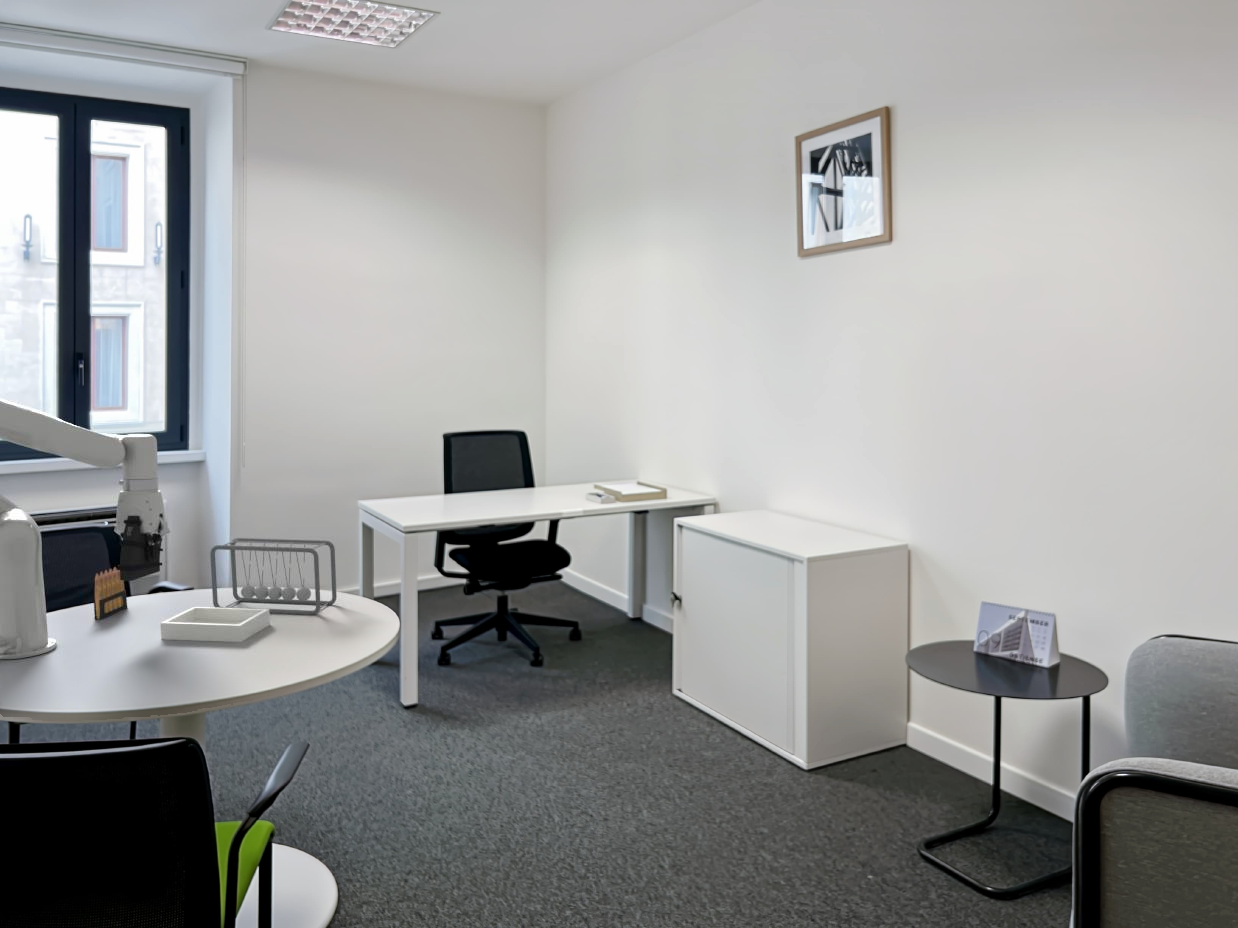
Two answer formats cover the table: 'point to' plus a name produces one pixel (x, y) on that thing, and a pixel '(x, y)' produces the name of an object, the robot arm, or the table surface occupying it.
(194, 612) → the parts tray
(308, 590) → the newton's cradle
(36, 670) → the table surface
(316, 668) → the table surface
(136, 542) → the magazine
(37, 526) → the robot arm
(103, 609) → the ammunition clip
